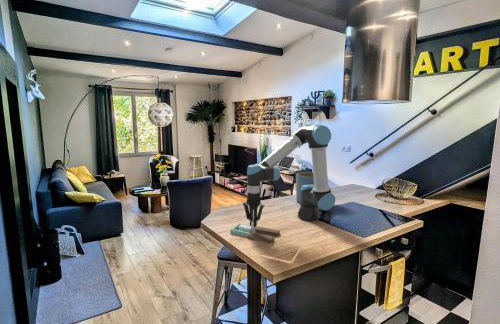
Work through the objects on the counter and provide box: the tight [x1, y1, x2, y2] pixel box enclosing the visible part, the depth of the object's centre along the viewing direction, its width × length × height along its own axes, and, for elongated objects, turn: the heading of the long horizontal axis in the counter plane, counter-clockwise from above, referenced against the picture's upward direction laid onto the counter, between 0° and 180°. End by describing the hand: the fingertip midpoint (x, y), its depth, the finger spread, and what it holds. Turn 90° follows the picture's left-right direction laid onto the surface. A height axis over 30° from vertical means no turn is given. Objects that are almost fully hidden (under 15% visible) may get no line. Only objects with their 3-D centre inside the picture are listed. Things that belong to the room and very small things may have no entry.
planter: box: [295, 171, 314, 204], centre depth 222 cm, size 23×23×24 cm
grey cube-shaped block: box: [238, 223, 248, 231], centre depth 160 cm, size 4×4×4 cm
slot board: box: [247, 226, 281, 244], centre depth 154 cm, size 14×14×3 cm
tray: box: [229, 222, 257, 238], centre depth 160 cm, size 11×12×3 cm
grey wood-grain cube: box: [244, 224, 254, 233], centre depth 158 cm, size 4×4×4 cm
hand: (253, 231), depth 157 cm, fingers closed
